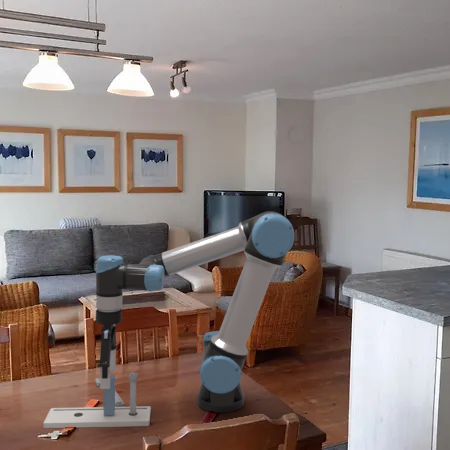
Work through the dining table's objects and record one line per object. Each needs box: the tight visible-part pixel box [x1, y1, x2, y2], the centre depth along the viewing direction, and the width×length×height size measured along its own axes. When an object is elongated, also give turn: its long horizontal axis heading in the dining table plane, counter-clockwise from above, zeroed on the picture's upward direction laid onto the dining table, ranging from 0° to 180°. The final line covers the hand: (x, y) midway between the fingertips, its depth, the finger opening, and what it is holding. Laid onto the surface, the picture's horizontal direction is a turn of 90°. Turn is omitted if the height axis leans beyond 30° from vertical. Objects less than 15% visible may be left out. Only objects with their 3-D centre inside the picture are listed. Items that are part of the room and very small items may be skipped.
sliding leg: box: [102, 374, 116, 415], centre depth 164 cm, size 3×3×11 cm
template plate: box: [42, 371, 152, 429], centre depth 163 cm, size 30×10×14 cm, turn 95°
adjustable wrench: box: [94, 377, 125, 407], centre depth 183 cm, size 25×6×2 cm, turn 21°
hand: (107, 379), depth 163 cm, fingers open, 13 cm apart
